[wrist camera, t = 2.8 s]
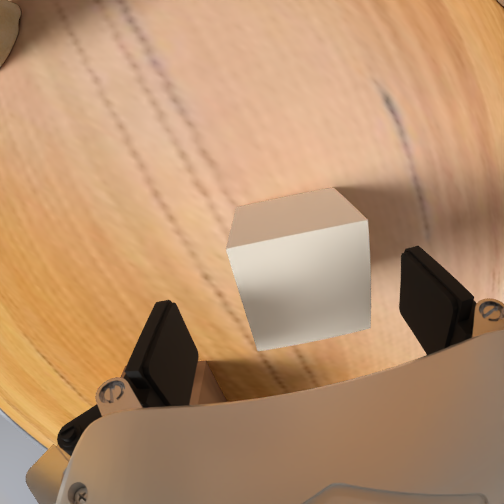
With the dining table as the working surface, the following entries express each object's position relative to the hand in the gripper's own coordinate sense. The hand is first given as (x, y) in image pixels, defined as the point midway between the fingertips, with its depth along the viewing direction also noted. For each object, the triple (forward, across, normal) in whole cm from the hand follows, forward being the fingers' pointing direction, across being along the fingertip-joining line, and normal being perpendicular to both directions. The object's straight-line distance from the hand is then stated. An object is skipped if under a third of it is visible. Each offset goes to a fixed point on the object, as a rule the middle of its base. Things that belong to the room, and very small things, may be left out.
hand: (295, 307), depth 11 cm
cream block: (+5, -1, -1) cm, 5 cm away
